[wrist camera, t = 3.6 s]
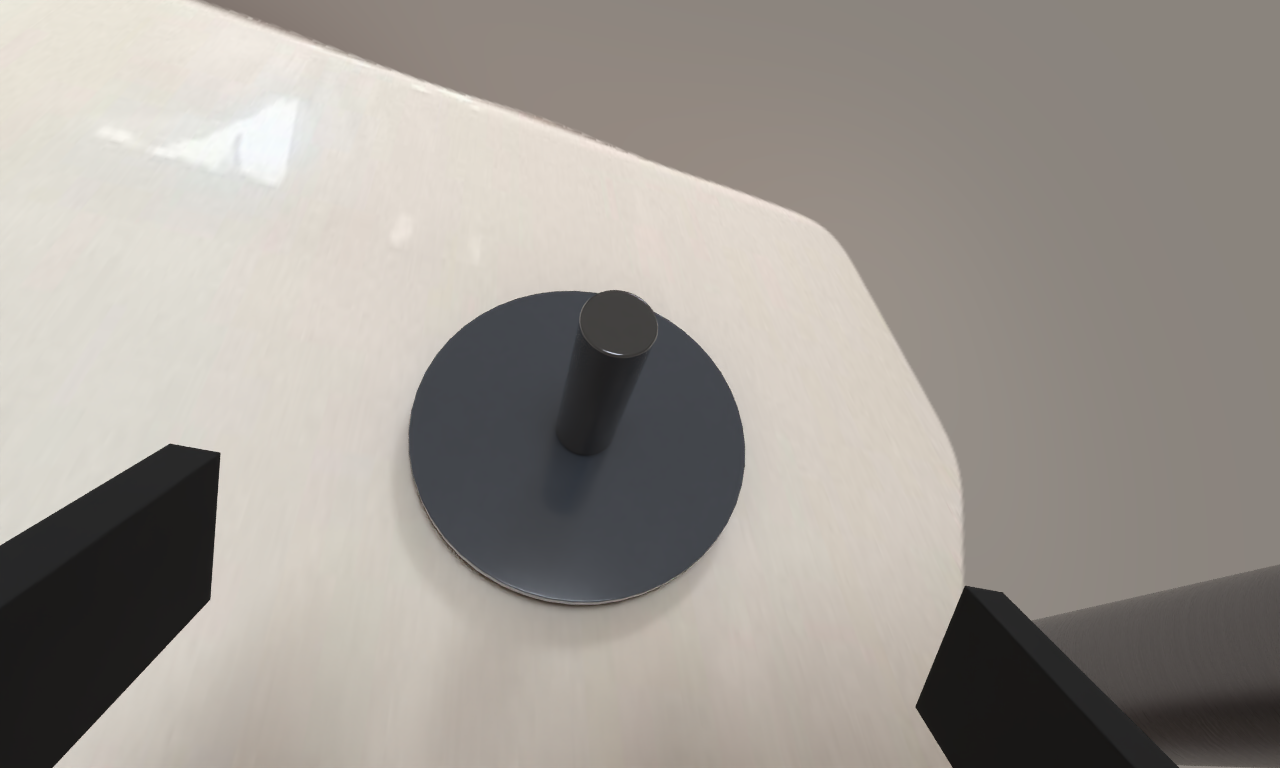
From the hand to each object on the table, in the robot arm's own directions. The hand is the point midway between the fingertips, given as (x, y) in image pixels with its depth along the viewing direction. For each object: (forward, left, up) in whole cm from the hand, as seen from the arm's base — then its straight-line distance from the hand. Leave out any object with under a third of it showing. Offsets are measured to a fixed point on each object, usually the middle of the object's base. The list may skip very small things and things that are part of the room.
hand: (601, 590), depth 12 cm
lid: (+3, -9, -15) cm, 18 cm away
